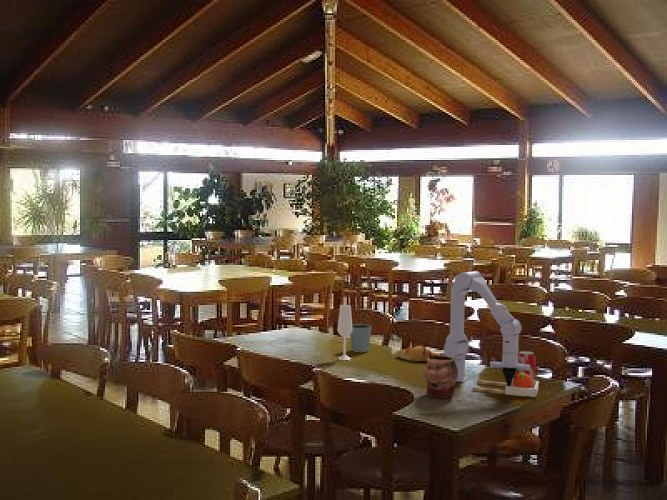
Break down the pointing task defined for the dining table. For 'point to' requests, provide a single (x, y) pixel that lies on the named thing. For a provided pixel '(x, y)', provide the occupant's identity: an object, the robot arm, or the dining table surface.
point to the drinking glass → (360, 337)
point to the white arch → (523, 390)
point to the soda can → (527, 363)
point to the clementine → (522, 380)
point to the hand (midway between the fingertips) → (509, 387)
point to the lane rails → (490, 389)
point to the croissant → (415, 354)
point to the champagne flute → (345, 327)
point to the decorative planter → (440, 376)
